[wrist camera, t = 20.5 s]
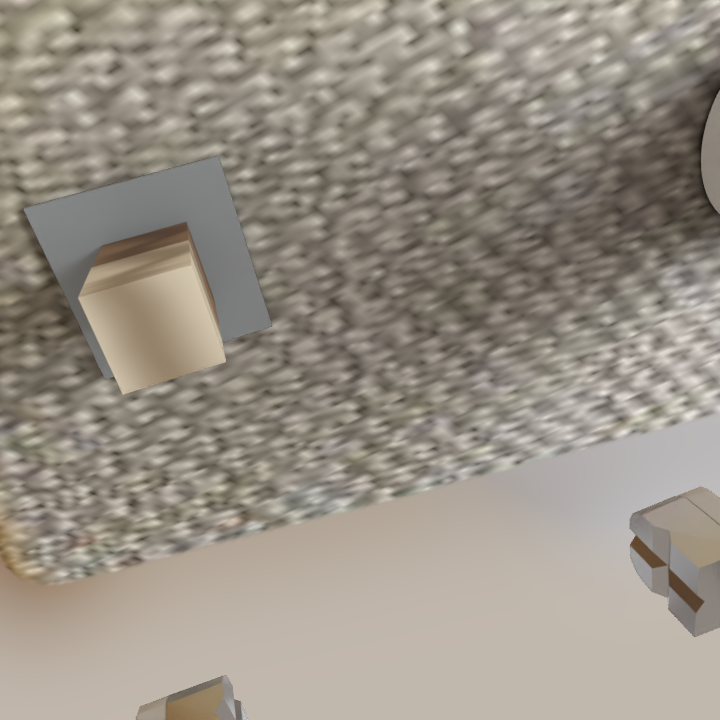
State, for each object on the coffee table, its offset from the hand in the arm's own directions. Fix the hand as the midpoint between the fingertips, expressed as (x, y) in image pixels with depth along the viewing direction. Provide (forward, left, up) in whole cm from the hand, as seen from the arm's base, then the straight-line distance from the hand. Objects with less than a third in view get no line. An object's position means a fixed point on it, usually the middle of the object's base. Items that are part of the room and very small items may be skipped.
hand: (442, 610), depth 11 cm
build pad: (+6, 0, -30) cm, 31 cm away
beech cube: (+6, 0, -25) cm, 25 cm away
